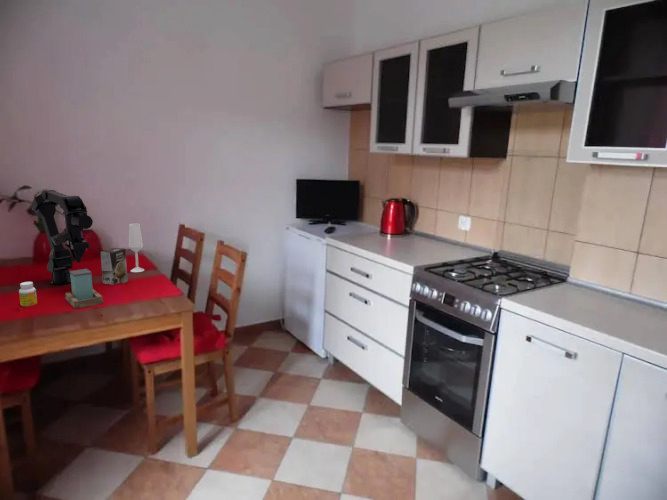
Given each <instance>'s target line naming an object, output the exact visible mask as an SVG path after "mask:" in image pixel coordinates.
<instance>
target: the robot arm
mask: <svg viewBox="0 0 667 500" xmlns="http://www.w3.org/2000/svg"><path fill="white" fill-rule="evenodd" d="M58 205H59V208H60V209H62V210H63V212H62V215H64V221H65V228H63V231H62V232H59V229H58V226H57V222H56V219H55V214H56V211H57V209H56V207H57V206H58ZM31 208H32V209H33V211H34V213H35V215H36V216H37V217H38V218H39V219H40V220H42V221H41V222H42V225H43V227H44V231H45V233H46V237H47V241H48V244H49V246H50V253H49V256H48V258H49V260H48V263H47V264H46V269H47V271H48V272H50V273H51V278H52V280H51V282H50V283H49V284H51V285H59V286H61V285H66V284H68V283H71V277H70V270H72V269H73V265H74V261H76V263H81V261H82V258H83V256H84V254H85V252H86V249H90V247H91V246H90V245H91V244H90V242H88V241H86V240H85V238H84V237H83V231H84V230H88V229H90V228H91V227H92V226H93V221H94V220H93V219H92V217H91V216H90V215H88V210H87V206H86V205H85V203H84V201H83V199H82V198H81V197H80V196H79V195H66V194H65V193H64V194H63V193H61V192H58V191H57V190H55V189H47V190H46V189H45V190H43V191H41V193H40V194H38V195H37V196H36V197H34V199H33V200H32V202H31ZM64 246H65V247H64ZM66 247H67V248H66ZM68 248H69V249H68Z"/></svg>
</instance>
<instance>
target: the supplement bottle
mask: <svg viewBox="0 0 667 500" xmlns="http://www.w3.org/2000/svg"><path fill="white" fill-rule="evenodd" d="M19 286H20V289H18V294H19V302H20V306H21V307H31V306H36V305H37V304H38V297H37V289H36V288H35V287H34V283H33V281H24V282H21V283H19Z"/></svg>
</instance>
